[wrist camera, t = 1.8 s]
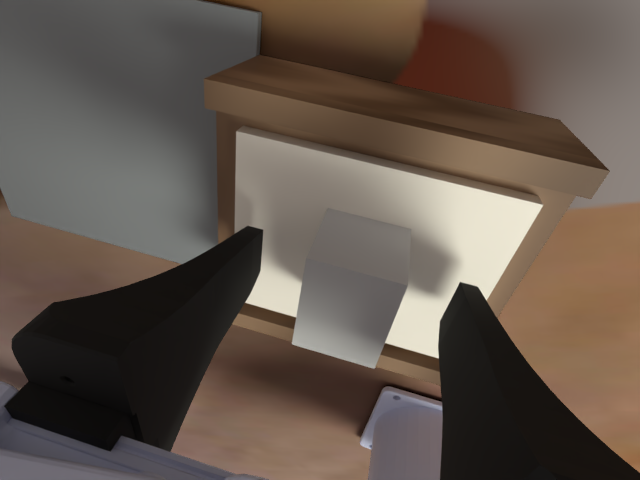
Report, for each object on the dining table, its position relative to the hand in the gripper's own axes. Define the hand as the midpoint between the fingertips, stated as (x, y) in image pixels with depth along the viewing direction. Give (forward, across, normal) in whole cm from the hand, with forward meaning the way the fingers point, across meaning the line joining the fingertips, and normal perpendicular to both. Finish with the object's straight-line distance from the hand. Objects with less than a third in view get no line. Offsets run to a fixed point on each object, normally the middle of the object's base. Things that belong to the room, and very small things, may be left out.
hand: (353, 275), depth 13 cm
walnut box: (+6, 0, 0) cm, 6 cm away
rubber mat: (+6, +14, 0) cm, 15 cm away
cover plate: (+2, 0, 0) cm, 2 cm away
